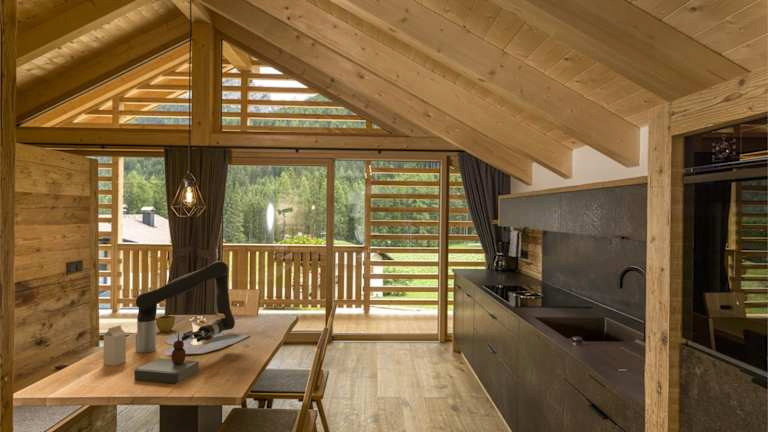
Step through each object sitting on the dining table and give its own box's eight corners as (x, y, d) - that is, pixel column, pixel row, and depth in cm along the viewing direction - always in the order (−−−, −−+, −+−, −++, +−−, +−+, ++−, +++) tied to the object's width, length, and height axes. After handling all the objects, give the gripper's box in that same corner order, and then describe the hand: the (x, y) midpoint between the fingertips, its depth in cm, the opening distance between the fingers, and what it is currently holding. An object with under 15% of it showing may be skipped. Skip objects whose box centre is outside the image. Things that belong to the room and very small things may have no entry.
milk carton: (125, 361, 241) (125, 325, 241) (113, 366, 234) (113, 329, 234) (115, 360, 243) (115, 324, 243) (103, 364, 237) (103, 327, 236)
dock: (134, 380, 216) (134, 369, 215) (159, 367, 232) (159, 358, 232) (176, 384, 211) (176, 373, 211) (198, 371, 228) (198, 361, 228)
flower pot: (167, 332, 298) (167, 318, 298) (155, 332, 300) (155, 318, 299) (175, 329, 306) (175, 315, 306) (164, 328, 308) (164, 315, 308)
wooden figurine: (174, 361, 227) (174, 331, 226) (187, 361, 227) (187, 331, 227) (169, 366, 220) (169, 335, 220) (182, 366, 220) (182, 335, 220)
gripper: (196, 323, 249) (177, 331, 234) (220, 325, 247) (202, 332, 231) (196, 337, 250) (177, 345, 234) (220, 339, 247) (202, 347, 231)
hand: (189, 339), depth 232 cm, fingers open, 8 cm apart
